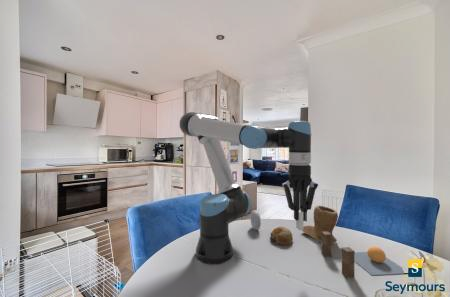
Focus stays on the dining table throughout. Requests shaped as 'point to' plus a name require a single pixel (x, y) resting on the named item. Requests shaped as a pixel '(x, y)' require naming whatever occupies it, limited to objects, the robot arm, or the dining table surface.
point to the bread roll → (281, 236)
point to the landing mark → (377, 265)
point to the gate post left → (327, 244)
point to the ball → (376, 254)
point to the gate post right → (348, 262)
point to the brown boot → (322, 223)
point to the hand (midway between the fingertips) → (299, 228)
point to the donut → (255, 220)
